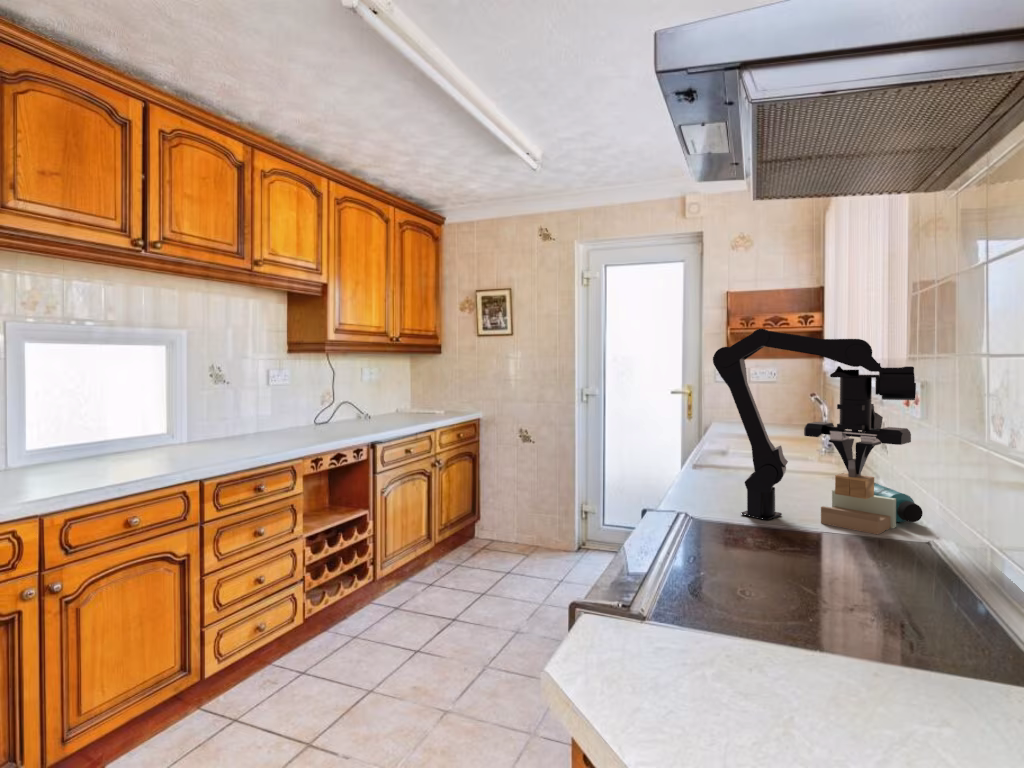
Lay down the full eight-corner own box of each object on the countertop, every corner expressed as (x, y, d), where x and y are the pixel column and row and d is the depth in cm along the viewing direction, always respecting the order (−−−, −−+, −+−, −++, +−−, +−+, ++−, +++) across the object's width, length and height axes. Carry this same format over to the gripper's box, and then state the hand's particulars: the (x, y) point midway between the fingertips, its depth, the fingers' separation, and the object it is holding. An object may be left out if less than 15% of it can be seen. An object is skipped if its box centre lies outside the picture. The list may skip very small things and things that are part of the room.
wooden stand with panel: (880, 535, 116) (880, 505, 116) (818, 522, 126) (818, 494, 126) (895, 527, 121) (896, 498, 121) (835, 516, 131) (835, 489, 131)
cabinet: (865, 499, 119) (866, 462, 119) (834, 494, 124) (835, 458, 124) (873, 496, 122) (874, 460, 122) (843, 491, 127) (843, 456, 126)
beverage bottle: (880, 490, 140) (937, 511, 120) (860, 511, 140) (915, 535, 120) (859, 472, 140) (913, 490, 120) (840, 493, 140) (891, 514, 120)
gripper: (921, 399, 120) (920, 475, 120) (826, 395, 134) (825, 463, 135) (900, 402, 113) (899, 482, 114) (803, 398, 128) (802, 469, 128)
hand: (854, 473), depth 123 cm, fingers closed on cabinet
